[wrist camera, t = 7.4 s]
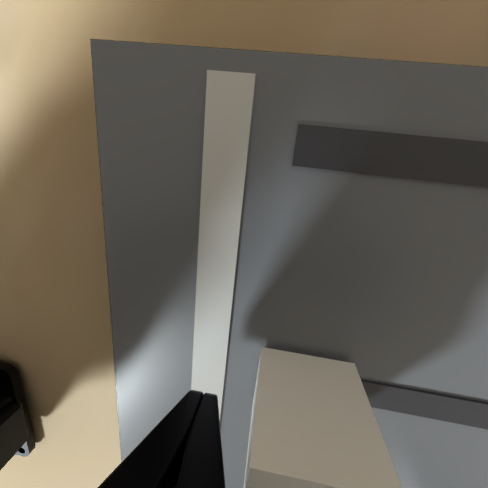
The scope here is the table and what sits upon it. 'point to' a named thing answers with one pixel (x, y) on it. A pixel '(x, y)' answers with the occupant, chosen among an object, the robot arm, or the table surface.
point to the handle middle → (313, 427)
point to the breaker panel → (299, 239)
